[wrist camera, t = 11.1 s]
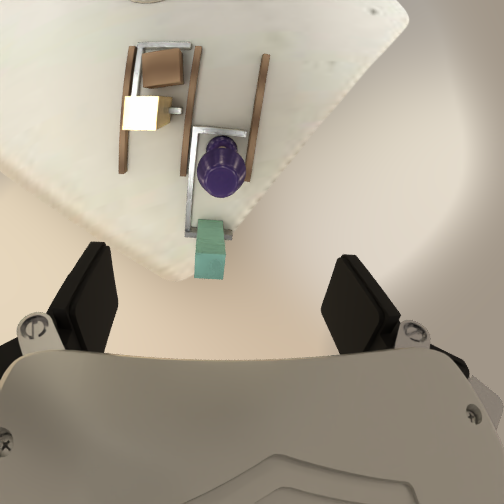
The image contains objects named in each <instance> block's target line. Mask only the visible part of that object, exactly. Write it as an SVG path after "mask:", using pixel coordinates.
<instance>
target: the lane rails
mask: <svg viewBox="0 0 504 504" xmlns="http://www.w3.org/2000/svg"><path fill="white" fill-rule="evenodd" d="M137 50H138V48H137V47H135V46H129V50H128V56H127V63H126V70H125V78H124V86H123V96H122V107H121V120H120V137H119V174H124V173H126V172H127V152H128V131H129V130H123V115H124V103H125V97H127V96H131V94H132V85H133V77H134V70H135V63H136V56H137ZM201 52H202V46H195V51H194V57H193V63H192V70H191V76H190V83H189V91H188V98H187V106H186V115H185V124H184V134H183V144H182V156H181V168H180V176H185V177H186V174H187V164H188V153H189V143H190V133H191V124H192V115H193V107H194V99H195V91H196V84H197V77H198V70H199V64H200V58H201ZM269 59H270V55H269V54H263V55H262V59H261V65H260V71H259V77H258V83H257V89H256V96H255V102H254V108H253V115H252V121H251V128H250V134H249V141H248V148H247V155H246V161H245V166H246V177H245V180H244V181H247V182H250V179H251V172H252V165H253V159H254V152H255V146H256V140H257V133H258V127H259V120H260V114H261V108H262V102H263V96H264V89H265V83H266V77H267V71H268V65H269Z"/></svg>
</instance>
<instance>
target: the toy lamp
mask: <svg viewBox="0 0 504 504" xmlns="http://www.w3.org/2000/svg"><path fill="white" fill-rule="evenodd" d="M197 177H198V180H199V182H200V184H201V186H202V187H203V188H204V189H205V190H206V191H207V192H208V193H209V194H210V195H212V196H214V197H218V198H225V197H228V196H230V195H232V194H233V193H235V192H236V191H237V190H238V189H239V188H240V186H241V185H242V184H243V182H244V180H245V177H246V166H245V162H244V160H243V159H242V157H241V156H240V155H239V154H238V153H237V146H236V144H235V142H234V141H233V140H232V139H231V138H229V137H227V136H217V137H214V138H213V139H212V140H211V141H210V142H209V143H208V145H207V148H206V154H204V156H203V157H202V158H201V159H200V161H199V164H198V167H197Z"/></svg>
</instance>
